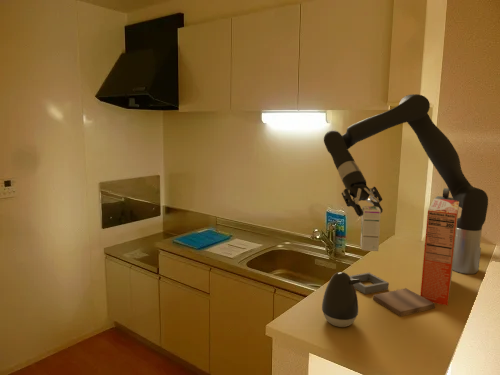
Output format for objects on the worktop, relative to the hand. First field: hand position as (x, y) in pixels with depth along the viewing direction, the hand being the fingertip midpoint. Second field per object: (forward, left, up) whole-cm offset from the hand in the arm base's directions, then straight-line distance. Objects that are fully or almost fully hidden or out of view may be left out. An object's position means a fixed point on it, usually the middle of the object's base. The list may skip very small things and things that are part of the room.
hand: (371, 214), depth 130 cm
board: (-2, +15, -26) cm, 30 cm away
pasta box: (-21, +11, -26) cm, 36 cm away
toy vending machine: (-61, -23, -26) cm, 70 cm away
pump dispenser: (+24, +17, -26) cm, 40 cm away
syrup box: (0, 0, -12) cm, 12 cm away
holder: (0, 0, -26) cm, 26 cm away
